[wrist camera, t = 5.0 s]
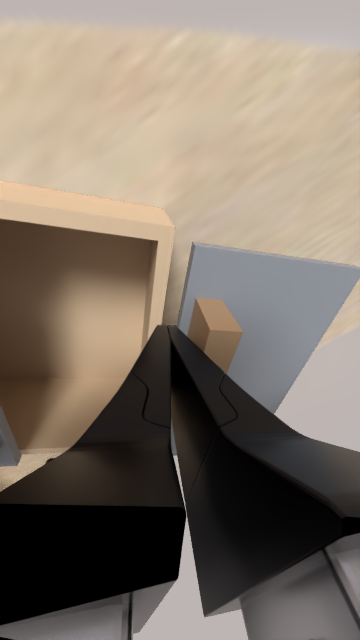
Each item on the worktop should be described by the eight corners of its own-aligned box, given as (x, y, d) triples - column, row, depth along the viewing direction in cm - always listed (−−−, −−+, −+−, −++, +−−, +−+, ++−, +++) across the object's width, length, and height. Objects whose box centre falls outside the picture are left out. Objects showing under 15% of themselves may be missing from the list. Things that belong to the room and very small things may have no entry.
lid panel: (248, 442, 18) (264, 485, 15) (153, 448, 16) (155, 496, 14) (353, 265, 10) (422, 293, 8) (192, 241, 8) (212, 267, 6)
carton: (143, 378, 22) (143, 447, 17) (-38, 376, 19) (-118, 462, 13) (162, 208, 14) (175, 227, 8) (-151, 154, 11) (-486, 123, 5)
